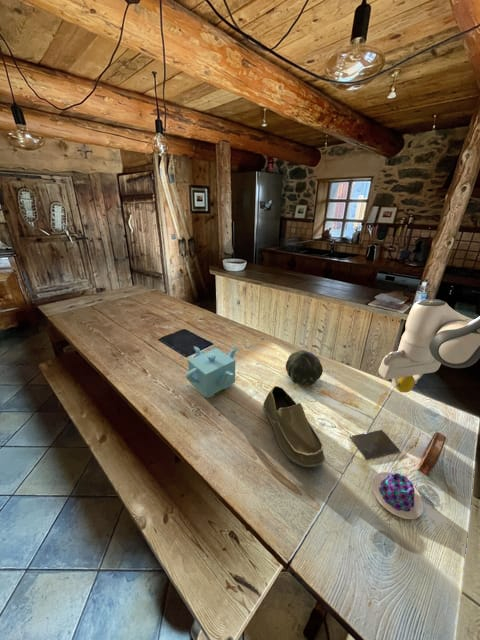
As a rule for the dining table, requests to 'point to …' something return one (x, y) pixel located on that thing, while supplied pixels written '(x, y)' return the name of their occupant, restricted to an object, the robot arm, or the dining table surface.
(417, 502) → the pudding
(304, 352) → the squash
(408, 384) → the lemon
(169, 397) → the dining table surface
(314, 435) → the loafer
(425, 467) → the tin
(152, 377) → the dining table surface
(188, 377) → the teal knobbed box
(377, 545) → the dining table surface
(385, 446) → the slate coaster
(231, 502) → the dining table surface
